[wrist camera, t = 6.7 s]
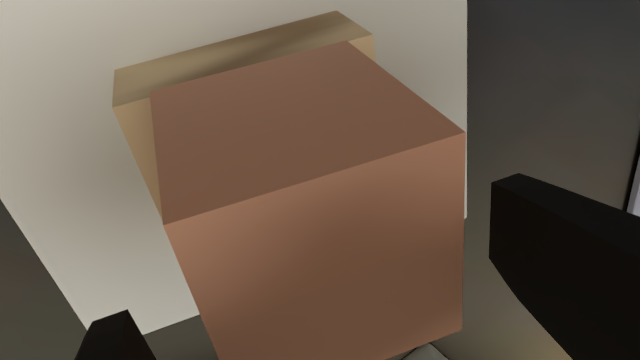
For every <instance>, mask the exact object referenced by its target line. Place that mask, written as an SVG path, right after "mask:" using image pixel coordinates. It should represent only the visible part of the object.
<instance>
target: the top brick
mask: <svg viewBox="0 0 640 360" xmlns="http://www.w3.org/2000/svg"><path fill="white" fill-rule="evenodd" d="M149 92H150V102H151V112H152V122H153V131H154V141H155V151H156V161H157V171H158V181H159V191H160V200H161V210H162V220H163V227H164V229H165V231H166V234H167V236H168V239H169V241H170V243H171V246H172V248H173V251H174V253H175V255H176V258H177V260H178V263H179V265H180V267H181V270H182V272H183V275H184V277H185V279H186V282H187V284H188V287H189V289H190V291H191V294H192V296H193V299H194V301H195V303H196V306H197V308H198V311H199V313H200V316H201V318H202V320H203V323H204V325H205V328H206V330H207V332H208V335H209V337H210V340H211V342H212V344H213V347H214V349H215V352H216V354H217V356H218V359H219V360H386V359H388V358H391V357H393V356H396V355H398V354H401V353H404V352H406V351H409V350H411V349H414V348H416V347H419V346H422V345H424V344H427V343H429V342H432V341H434V340H437V339H440V338H442V337H445V336H447V335H450V334H452V333H455V332H458V331H460V330H462V297H463V248H464V199H465V150H466V132H465V131H464V130H462V129H461V128H460V127H458V126H457V125H456V124H455V123H453V122H452V121H451V120H449V119H448V118H447V117H445V116H444V115H443V114H442V113H440V112H439V111H438V110H436V109H435V108H434V107H432V106H431V105H430V104H429V103H427V102H426V101H425V100H423V99H422V98H421V97H419V96H418V95H417V94H416V93H414V92H413V91H412V90H410V89H409V88H408V87H406V86H405V85H404V84H403V83H401V82H400V81H399V80H397V79H396V78H395V77H393V76H392V75H391V74H390V73H388V72H387V71H386V70H384V69H383V68H382V67H380V66H379V65H378V64H377V63H375V62H374V61H373V60H371V59H370V58H369V57H367V56H366V55H365V54H364V53H362V52H361V51H360V50H358V49H357V48H356V47H354V46H353V45H352V44H351V43H349V42H348V41H347V40H345V41H342V42H338V43H334V44H330V45H326V46H322V47H318V48H314V49H311V50H307V51H303V52H299V53H295V54H291V55H287V56H283V57H280V58H276V59H272V60H268V61H264V62H260V63H256V64H252V65H248V66H245V67H241V68H237V69H233V70H229V71H225V72H221V73H217V74H214V75H210V76H206V77H202V78H198V79H194V80H190V81H186V82H183V83H179V84H175V85H171V86H167V87H163V88H159V89H155V90H152V91H149Z"/></svg>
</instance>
